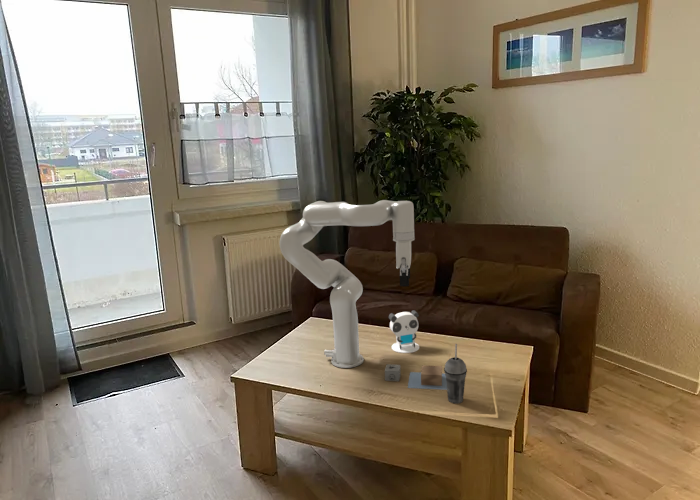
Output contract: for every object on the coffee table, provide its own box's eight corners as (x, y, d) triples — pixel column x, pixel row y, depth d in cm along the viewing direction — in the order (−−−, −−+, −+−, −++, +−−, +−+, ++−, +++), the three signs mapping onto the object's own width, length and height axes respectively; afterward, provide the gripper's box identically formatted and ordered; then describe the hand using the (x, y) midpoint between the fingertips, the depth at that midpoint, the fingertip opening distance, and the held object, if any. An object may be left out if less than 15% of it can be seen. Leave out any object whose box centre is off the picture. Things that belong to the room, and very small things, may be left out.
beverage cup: (442, 406, 170) (441, 348, 165) (446, 395, 177) (446, 339, 172) (465, 409, 167) (465, 351, 163) (468, 398, 174) (468, 342, 169)
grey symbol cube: (386, 376, 192) (386, 364, 191) (400, 377, 191) (400, 364, 190) (385, 383, 187) (384, 370, 186) (399, 384, 186) (398, 371, 185)
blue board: (407, 390, 181) (407, 387, 181) (410, 374, 193) (410, 372, 193) (455, 392, 178) (455, 390, 178) (454, 376, 190) (454, 373, 190)
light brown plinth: (421, 384, 183) (420, 374, 182) (422, 375, 189) (422, 365, 188) (441, 385, 181) (441, 375, 180) (442, 376, 188) (441, 366, 187)
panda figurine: (395, 355, 210) (394, 319, 206) (386, 344, 221) (385, 310, 217) (423, 350, 212) (423, 315, 209) (413, 340, 223) (413, 306, 220)
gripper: (394, 231, 197) (396, 275, 201) (391, 241, 180) (393, 289, 184) (415, 231, 196) (416, 275, 199) (413, 240, 179) (414, 289, 183)
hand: (405, 282), depth 192 cm, fingers open, 9 cm apart
